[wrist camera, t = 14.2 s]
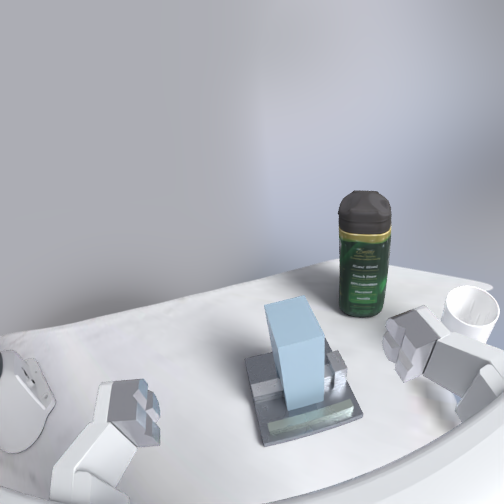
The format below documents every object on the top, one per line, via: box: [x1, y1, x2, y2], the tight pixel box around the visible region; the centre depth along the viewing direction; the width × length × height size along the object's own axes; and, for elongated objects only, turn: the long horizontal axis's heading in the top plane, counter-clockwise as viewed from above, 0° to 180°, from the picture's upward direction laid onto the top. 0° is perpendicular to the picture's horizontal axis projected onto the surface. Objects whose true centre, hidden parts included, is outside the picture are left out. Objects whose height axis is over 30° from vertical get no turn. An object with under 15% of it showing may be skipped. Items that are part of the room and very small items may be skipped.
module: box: [264, 295, 325, 411], centre depth 32 cm, size 4×7×12 cm, turn 9°
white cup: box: [441, 286, 499, 343], centre depth 31 cm, size 8×8×10 cm
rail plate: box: [245, 338, 363, 447], centre depth 35 cm, size 12×14×4 cm
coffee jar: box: [338, 191, 391, 317], centre depth 44 cm, size 10×8×19 cm
